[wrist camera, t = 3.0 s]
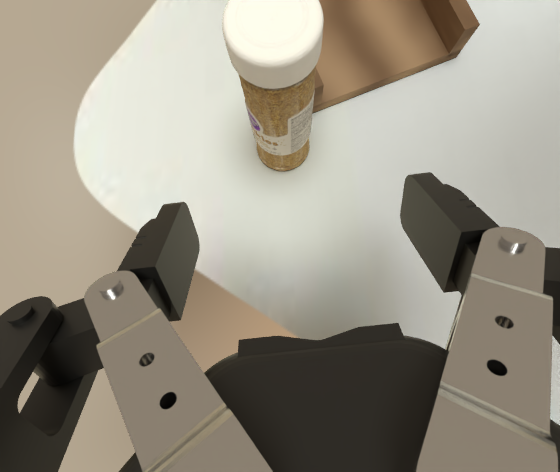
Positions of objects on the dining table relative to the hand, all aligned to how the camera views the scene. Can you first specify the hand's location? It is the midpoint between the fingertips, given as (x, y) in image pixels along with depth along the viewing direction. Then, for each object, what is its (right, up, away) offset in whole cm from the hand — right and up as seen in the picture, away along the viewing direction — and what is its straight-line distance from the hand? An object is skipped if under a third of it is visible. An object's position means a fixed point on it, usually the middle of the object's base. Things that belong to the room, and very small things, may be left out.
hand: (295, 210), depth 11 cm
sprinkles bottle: (0, +7, +15) cm, 17 cm away
